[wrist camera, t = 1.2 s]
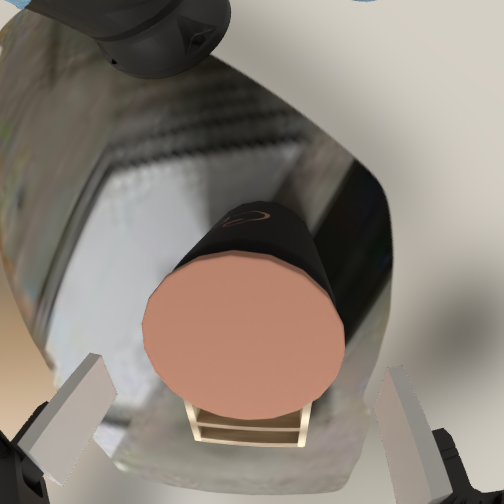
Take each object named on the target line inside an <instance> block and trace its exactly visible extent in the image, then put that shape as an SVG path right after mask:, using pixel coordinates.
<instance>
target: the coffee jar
mask: <svg viewBox="0 0 504 504" xmlns="http://www.w3.org/2000/svg"><path fill="white" fill-rule="evenodd" d="M142 331H143V340H144V349H145V351H146V353H147V355H148V357H149V360H150V362H151V364H152V366H153V368H154V370H155V372H156V373H157V374H158V375H159V376H160V378H161V379H162V380H163V381H164V382H165V383H166V384H167V385H168V387H169V388H170V389H171V390H172V391H173V392H175V393H176V394H178V395H179V396H181V397H182V398H183V399H185V400H186V401H188V402H189V403H191V404H192V405H194V406H196V407H198V408H201V409H203V410H206V411H209V412H211V413H214V414H216V415H219V416H224V417H230V418H237V419H244V420H253V419H268V418H275V417H278V416H282V415H285V414H288V413H291V412H295V411H298V410H300V409H301V408H303V407H304V406H306V405H308V404H309V403H311V402H312V401H314V400H315V399H317V398H319V397H320V396H321V395H322V394H323V393H324V391H325V390H326V389H327V388H328V387H329V385H330V384H331V383H332V382H333V381H334V379H335V378H336V377H337V374H338V371H339V368H340V366H341V363H342V360H343V357H344V354H345V340H344V325H343V323H342V321H341V319H340V317H339V315H338V313H337V311H336V302H335V298H334V295H333V292H332V290H331V287H330V284H329V281H328V279H327V276H326V273H325V270H324V268H323V265H322V262H321V260H320V257H319V255H318V252H317V249H316V247H315V244H314V242H313V239H312V237H311V235H310V233H309V231H308V229H307V227H306V225H305V223H304V222H303V221H302V220H301V219H300V218H299V217H298V216H297V215H296V214H295V213H294V212H293V211H292V210H290V209H288V208H286V207H283V206H281V205H279V204H277V203H272V202H264V201H256V202H251V203H246V204H242V205H240V206H239V207H237V208H235V209H233V210H231V211H230V212H228V213H227V214H226V215H225V216H224V217H223V218H222V219H221V220H220V221H219V222H218V223H217V224H216V225H215V226H214V227H213V228H212V229H211V230H210V231H209V232H208V233H207V234H206V235H205V236H204V237H203V238H202V239H201V240H200V241H199V242H198V243H197V244H196V245H195V246H194V247H193V248H192V249H191V250H190V251H189V252H188V253H187V254H186V255H185V257H184V258H183V259H182V260H181V261H180V262H179V264H178V265H177V266H176V267H175V268H174V270H173V271H172V272H171V273H170V274H168V275H167V276H166V277H165V278H164V280H163V281H162V282H161V283H160V285H159V286H158V287H157V288H156V289H155V291H154V292H153V293H152V294H151V296H150V297H149V299H148V303H147V306H146V310H145V313H144V317H143V321H142Z"/></svg>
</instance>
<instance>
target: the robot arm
mask: <svg viewBox="0 0 504 504" xmlns="http://www.w3.org/2000/svg"><path fill="white" fill-rule="evenodd" d="M6 1H8V2H10V3H12V4H14V5H16V7H17V8H19V9H23V8H26V9H28V10H31V11H34V12H36V13H39V14H41V15H44V16H46V17H48V18H51V19H53V20H55V21H58V22H60V23H62V24H64V25H66V26H69V27H71V28H73V29H75V30H77V31H79V32H81V33H83V34H86V35H88V36H90V37H92V38H94V40H95V41H96V43H97V45H98V46H99V48H100V49H101V51H102V53H103V54H104V56H105V57H106V59H107V60H108V62H109V63H110V64H111V65H112V66H114V67H115V68H116V69H118V70H120V71H122V72H124V73H126V74H128V75H130V76H133V77H136V78H141V79H159V78H165V77H169V76H172V75H175V74H178V73H181V72H183V71H185V70H187V69H189V68H191V67H193V66H194V65H196V64H197V63H199V62H200V61H202V60H203V59H204V58H205V57H207V56H208V55H209V54H210V53H211V52H212V51H213V50H214V49H215V48H216V47H217V45H218V44H219V43H220V41H221V40H222V38H223V37H224V35H225V33H226V31H227V29H228V26H229V23H230V18H231V7H230V3H229V0H6ZM355 1H365V2H366V1H375V0H355ZM117 395H118V394H117V391H116V389H115V387H114V385H113V382H112V380H111V378H110V375H109V373H108V370H107V368H106V365H105V363H104V360H103V358H102V355H98V354H93V353H89V355H88V356H87V357H86V358H85V359H84V360H83V362H82V363H81V364H80V365H79V366H78V368H77V369H76V370H75V371H74V372H73V374H72V375H71V376H70V377H69V378H68V380H67V381H66V382H65V383H64V384H63V386H62V387H61V388H60V389H59V391H58V392H57V393H56V394H55V396H54V397H53V398H52V399H51V401H50V402H47V401H46V402H44V403H43V404H42V405H40V406H38V407H37V409H36V410H35V411H34V412H33V415H31V416H30V418H29V419H28V421H26V423H25V424H24V425H23V427H22V428H21V429H20V431H19V432H18V433H17V434H16V436H15V437H14V438H13V440H12V441H11V442H10V441H9V440H8V439H7V438H6V436H5V435H4V434H3V433H2V432H1V430H0V504H50V502H49V498H48V494H47V489H46V484H45V480H44V478H43V477H42V476H43V474H45V475H46V476H47V477H48V478H49V479H50V480H52V481H54V482H55V483H57V484H59V485H61V486H64V484H65V483H66V481H67V479H68V477H69V475H70V474H71V472H72V470H73V468H74V466H75V465H76V463H77V461H78V460H79V458H80V456H81V455H82V453H83V451H84V449H85V448H86V446H87V444H88V443H89V441H90V439H91V438H92V436H93V434H94V433H95V431H96V429H97V428H98V426H99V424H100V423H101V421H102V419H103V418H104V416H105V414H106V413H107V411H108V409H109V408H110V406H111V405H112V403H113V401H114V400H115V398H116V397H117ZM374 411H375V414H376V418H377V421H378V425H379V429H380V433H381V437H382V441H383V445H384V449H385V453H386V457H387V461H388V466H389V470H390V475H391V479H392V484H393V488H394V494H395V499H396V503H397V504H504V490H501V491H495V492H488V493H482V492H480V491H478V490H476V489H474V488H473V487H472V486H471V484H470V482H469V479H468V476H467V474H466V471H465V468H464V466H463V463H462V461H461V458H460V456H459V453H458V451H457V449H456V448H455V443H454V441H453V439H452V436H451V435H450V434H449V433H448V432H447V431H446V430H445V429H444V428H441V429H437V430H433V431H431V429H430V426H429V424H428V422H427V419H426V417H425V414H424V412H423V409H422V407H421V405H420V403H419V400H418V398H417V396H416V393H415V391H414V389H413V387H412V384H411V382H410V380H409V378H408V376H407V374H406V371H405V369H404V367H403V366H394V367H387V370H386V373H385V376H384V379H383V383H382V386H381V389H380V392H379V395H378V398H377V401H376V404H375V406H374Z"/></svg>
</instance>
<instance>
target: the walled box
mask: <svg viewBox="0 0 504 504" xmlns="http://www.w3.org/2000/svg"><path fill="white" fill-rule="evenodd" d="M183 400H184V403H185V407H186V411H187V414H188V418H189V421H190V424H191V428H192V431H193V434H194V438H195V440H196V441H204V442H212V443H220V444H231V445H243V446H262V447H304V446H305V441H306V435H307V429H308V423H309V417H310V411H311V404H312V402H311V403H309V404H308V405H306V406H304V407H303V408H301V409H300V410H298V411H295V412H291V413H288V414H285V415H282V416H278V417H275V418H268V419H253V420H244V419H237V418H230V417H224V416H219V415H216V414H214V413H211V412H209V411H206V410H203V409H201V408H198V407H196V406H194V405H192V404H191V403H189V402H188V401H186V400H185V399H183Z"/></svg>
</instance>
